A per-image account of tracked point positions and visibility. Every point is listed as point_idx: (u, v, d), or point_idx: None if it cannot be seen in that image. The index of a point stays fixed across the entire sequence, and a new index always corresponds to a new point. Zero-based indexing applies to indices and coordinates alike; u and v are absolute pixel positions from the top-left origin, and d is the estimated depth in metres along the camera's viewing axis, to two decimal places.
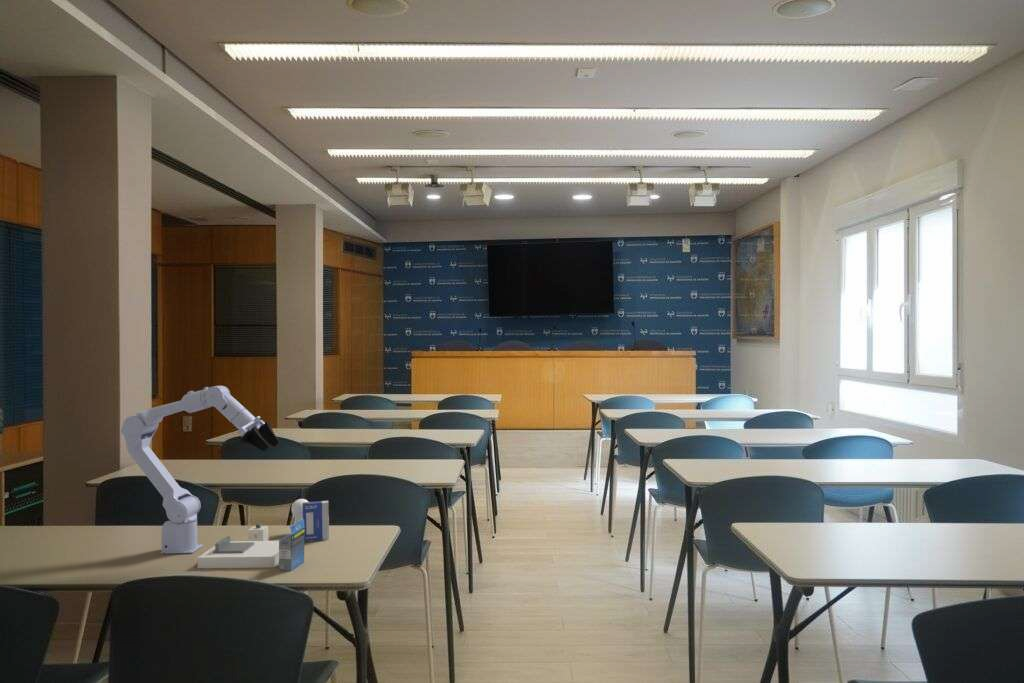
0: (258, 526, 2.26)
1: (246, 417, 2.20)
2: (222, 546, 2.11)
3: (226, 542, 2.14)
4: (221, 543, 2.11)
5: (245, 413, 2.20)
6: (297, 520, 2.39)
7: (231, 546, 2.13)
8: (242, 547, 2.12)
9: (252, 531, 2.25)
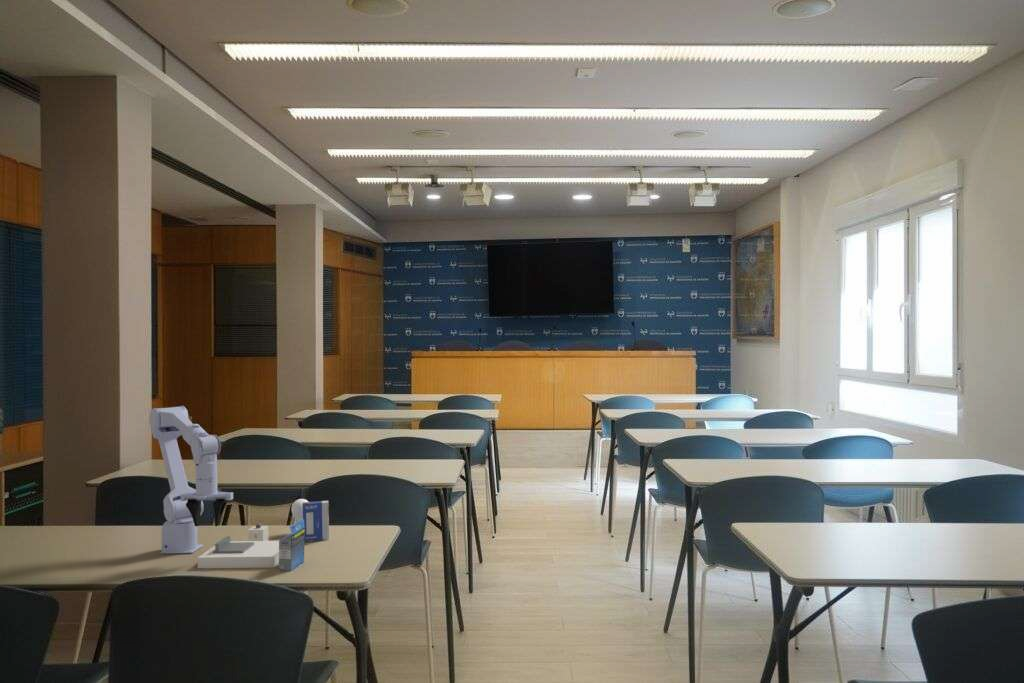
0: (258, 526, 2.26)
1: (196, 488, 2.11)
2: (222, 546, 2.11)
3: (226, 542, 2.14)
4: (221, 543, 2.11)
5: (198, 484, 2.10)
6: (297, 520, 2.39)
7: (231, 546, 2.13)
8: (242, 547, 2.12)
9: (252, 531, 2.25)
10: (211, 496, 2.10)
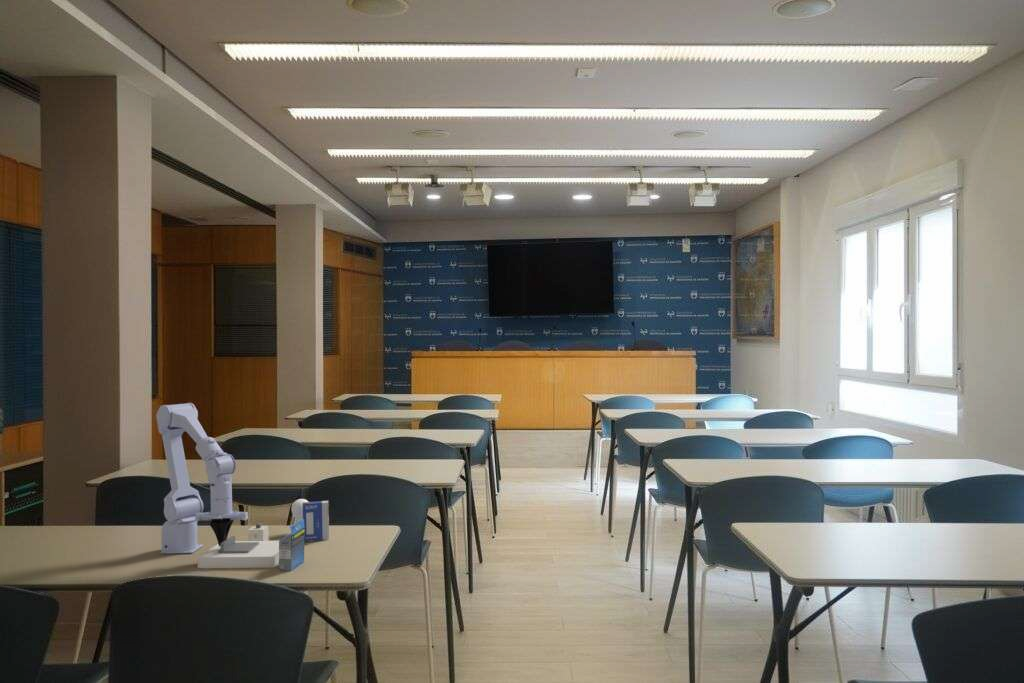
0: (258, 526, 2.26)
1: (211, 508, 2.11)
2: (227, 546, 2.11)
3: (231, 542, 2.14)
4: (226, 543, 2.11)
5: (213, 504, 2.10)
6: (297, 520, 2.39)
7: (236, 546, 2.13)
8: (247, 547, 2.12)
9: (252, 531, 2.25)
10: (226, 516, 2.10)
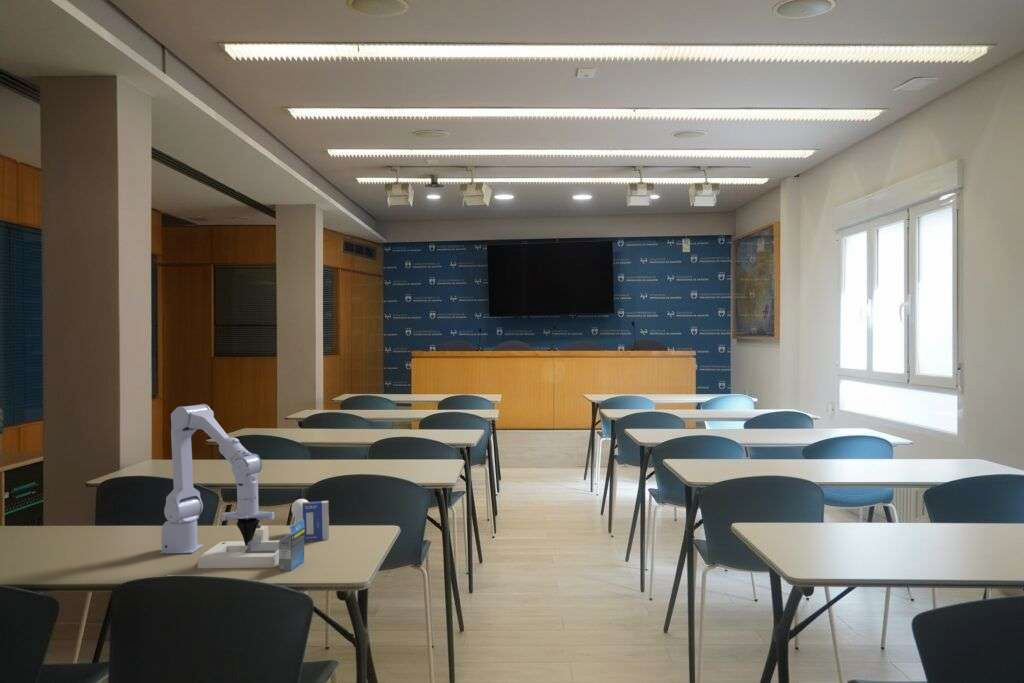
0: (258, 526, 2.26)
1: (238, 508, 2.11)
2: (254, 546, 2.11)
3: (258, 542, 2.14)
4: (253, 543, 2.11)
5: (239, 504, 2.10)
6: (297, 520, 2.39)
7: (262, 546, 2.13)
8: (274, 547, 2.12)
9: None
10: (253, 516, 2.10)
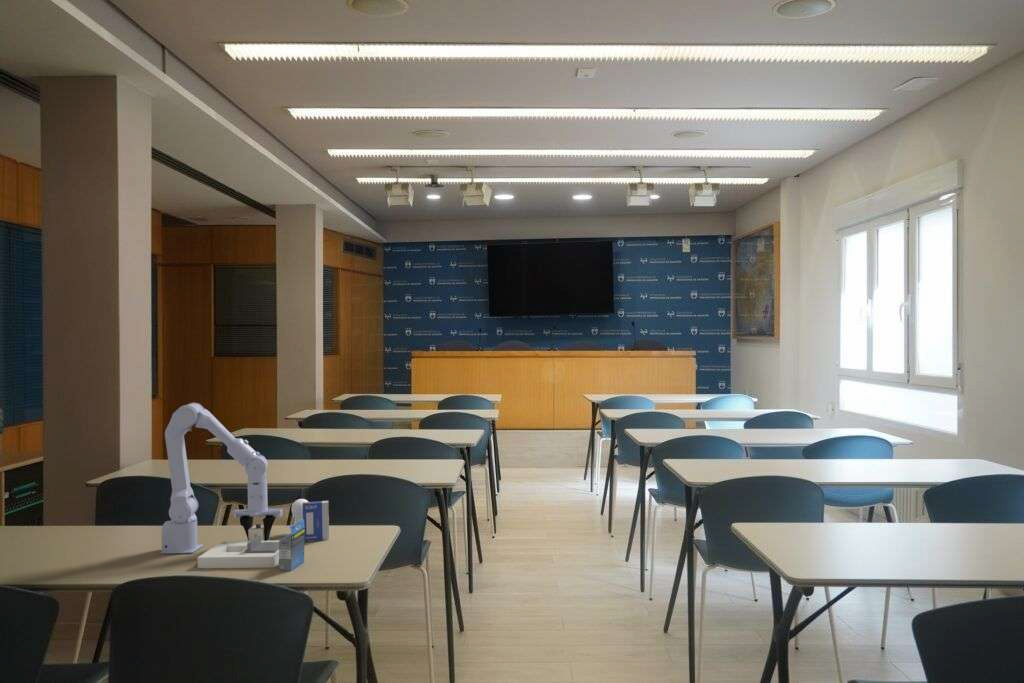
0: (258, 526, 2.26)
1: (248, 506, 2.25)
2: (254, 546, 2.11)
3: (258, 542, 2.14)
4: (253, 543, 2.11)
5: (250, 501, 2.24)
6: (297, 520, 2.39)
7: (262, 546, 2.13)
8: (274, 547, 2.12)
9: (252, 531, 2.25)
10: (262, 513, 2.24)
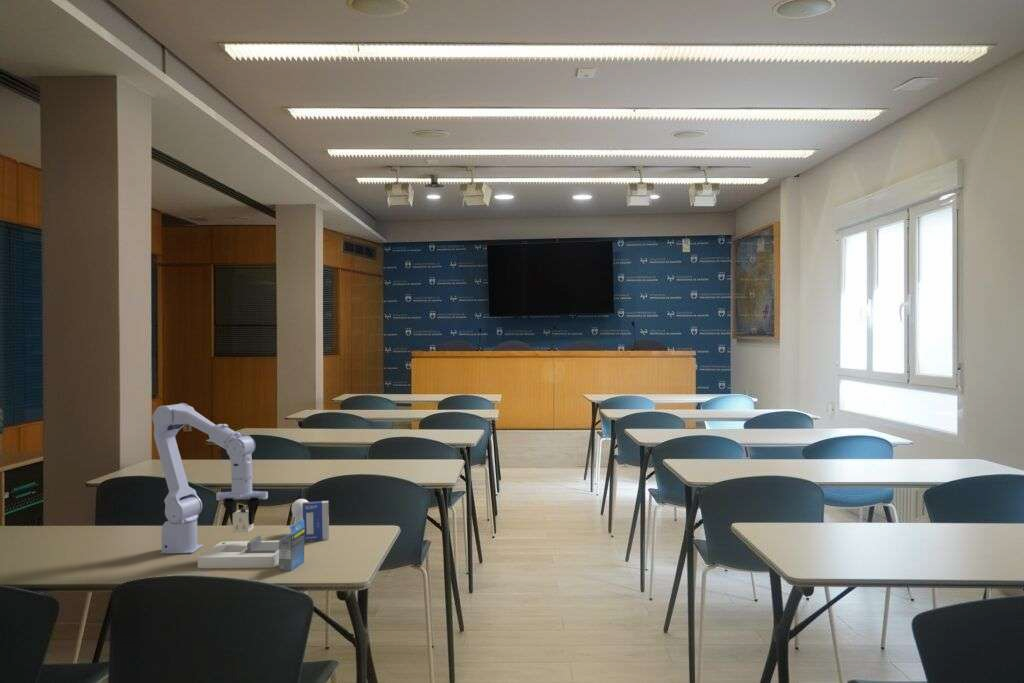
0: (243, 510, 2.18)
1: (232, 488, 2.16)
2: (254, 546, 2.11)
3: (258, 542, 2.14)
4: (253, 543, 2.11)
5: (234, 483, 2.15)
6: (297, 520, 2.39)
7: (262, 546, 2.13)
8: (274, 547, 2.12)
9: (236, 515, 2.16)
10: (247, 495, 2.15)
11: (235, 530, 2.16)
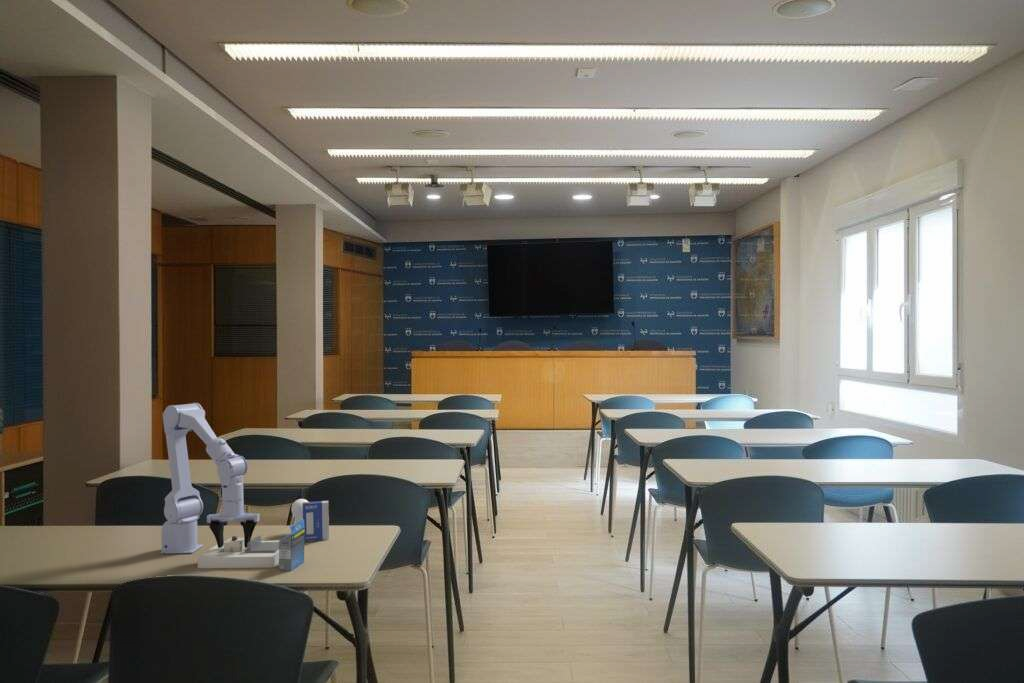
0: (234, 538, 2.13)
1: (223, 510, 2.11)
2: (254, 546, 2.11)
3: (258, 542, 2.14)
4: (253, 543, 2.11)
5: (224, 506, 2.10)
6: (297, 520, 2.39)
7: (262, 546, 2.13)
8: (274, 547, 2.12)
9: (228, 544, 2.11)
10: (238, 518, 2.10)
11: None
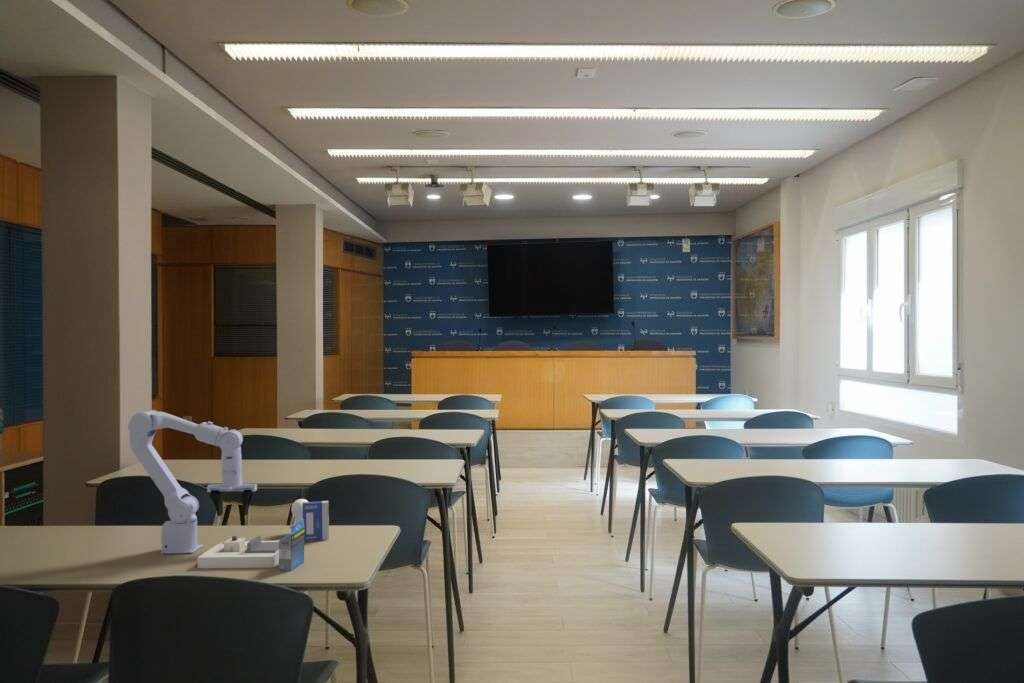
0: (234, 538, 2.13)
1: (222, 480, 2.23)
2: (254, 546, 2.11)
3: (258, 542, 2.14)
4: (253, 543, 2.11)
5: (224, 476, 2.22)
6: (297, 520, 2.39)
7: (262, 546, 2.13)
8: (274, 547, 2.12)
9: (228, 544, 2.11)
10: (236, 487, 2.22)
11: None
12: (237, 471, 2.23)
